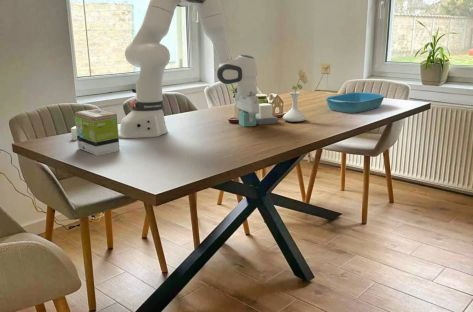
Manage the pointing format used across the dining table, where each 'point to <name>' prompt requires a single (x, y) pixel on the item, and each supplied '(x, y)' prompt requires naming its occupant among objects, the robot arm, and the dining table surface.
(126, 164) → the dining table surface
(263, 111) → the cream block
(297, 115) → the flower in vase
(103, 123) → the tea box
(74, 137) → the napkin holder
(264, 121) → the plate
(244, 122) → the teal block
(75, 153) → the dining table surface
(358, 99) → the casserole dish
